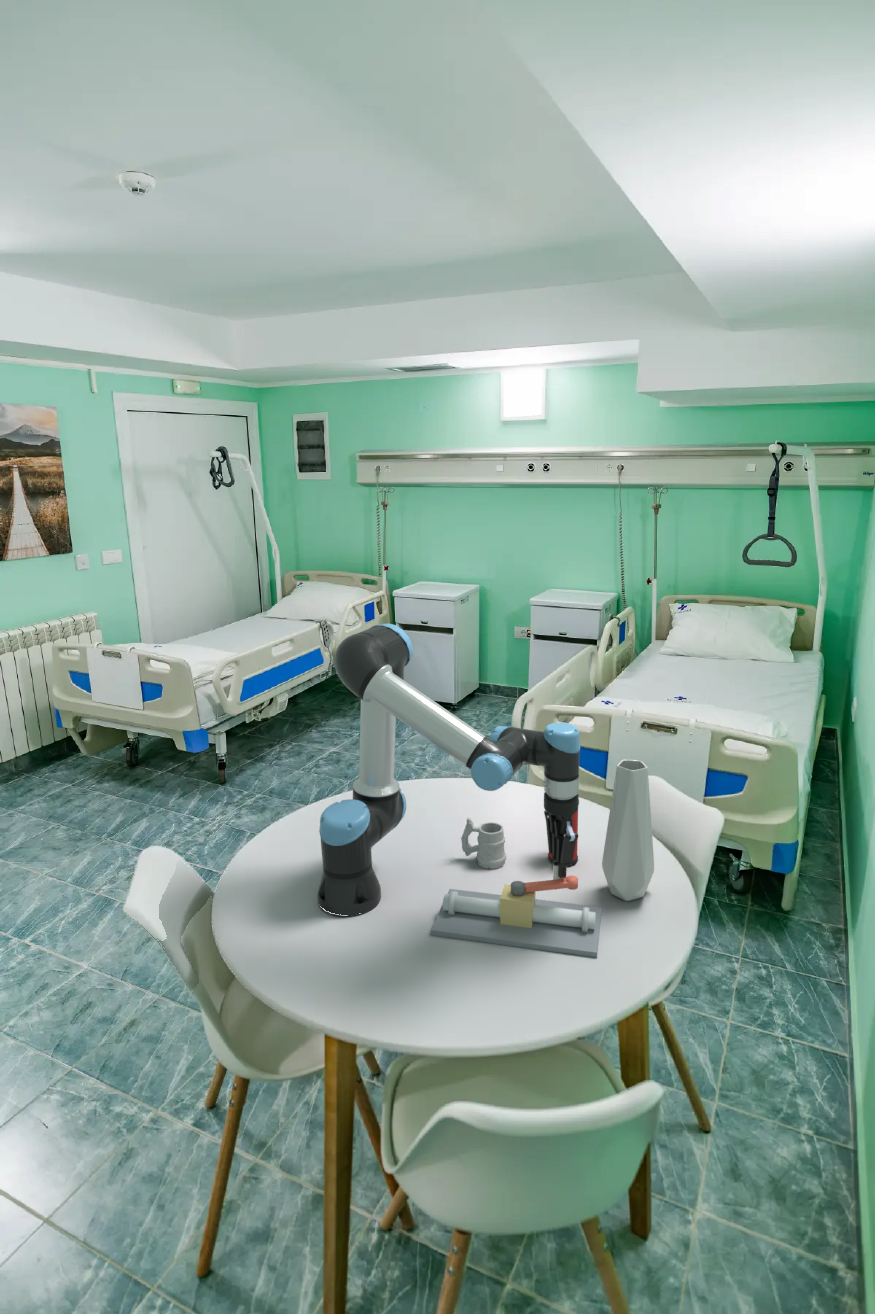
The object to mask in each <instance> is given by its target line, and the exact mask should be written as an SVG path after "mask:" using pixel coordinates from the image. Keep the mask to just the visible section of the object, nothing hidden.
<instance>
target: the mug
mask: <svg viewBox="0 0 875 1314" xmlns="http://www.w3.org/2000/svg"><path fill="white" fill-rule="evenodd" d="M473 832H474V833H478V835H477V838H476V839H477V844H475V845H471V844H470V842H469V836H470V835H471V834H472V833H473ZM504 834H505V832H504V826H503V825H502V824H500V823H498V822H490V821H489V822H483V823H481V824H480V825H479V826H474V821H473V820H472V819H471V818H470V817H469V816H467V818H466V824H465V828H464V830H463V833H462V836H461V840H460V841H461V849H462V851H463V852H464V854H465V856H466V857H469V856H470V855H471V854H473V853H475V852H476V860H477V864H478V865H479V866H480V867H482V868H484V869H490V870H494V869H495V870H496V869H500V868H502V867H503V866H504V865H505V864H506V860H507V853H506V852H505V843H506V838H505V835H504Z"/></svg>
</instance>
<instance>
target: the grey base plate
mask: <svg viewBox="0 0 875 1314" xmlns="http://www.w3.org/2000/svg"><path fill="white" fill-rule="evenodd" d="M602 909H603V907H602V906H598V905H597V906H595V905H588V904H587V905H586V904H581V903H580V904H579V903H571V902H563V901H562V902H561V901H554V900H546V899H537V898H536V891H535V892H525V894H524V895H522V896H515V895H513V894H511V884H504V885H503V889H502V891H501V894H497V893H496V894H495V893H487V892H481V891H480V892H479V891H469V890H462V889H455V888H449V890H448V893H445V894H444V895H443V901H442V905H441V908H440V910H439V912H438V913H437V916H436V918H435V921H434V923H433V924H432V927H431V930H430V933H431V936H437V937H445V938H450V939H451V938H452V939H456V940H457V939H459V940H466V941H467V940H468V941H473V942H474V941H475V942H481V943H487V944H495V945H504V946H510V947H511V946H512V947H515V948H516V947H517V948H525V949H531V950H539V951H545V952H546V951H548V952H555V953H560V954H569V955H575V956H583V957H591V958H598V952H599V950H598V949H599V940H600V930H601V921H602V920H601V919H602V918H601V917H602V911H603V910H602Z"/></svg>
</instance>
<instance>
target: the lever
mask: <svg viewBox="0 0 875 1314" xmlns="http://www.w3.org/2000/svg"><path fill="white" fill-rule="evenodd" d="M510 885H511V894H513V895H515V896H522V895H524V894H525V892H535V893H536V892H542V891H552V890H555V889H556V890H562V889H563V890H564V889H568V890H572V891H575V890H577V889H578V887H579V878H578V876H575V875H567V876H566V878H565V879H557V880H553V879H549V880H537V881H530V882H529V881H528V882H524V881H521V880H514V881H512V882H510Z"/></svg>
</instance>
